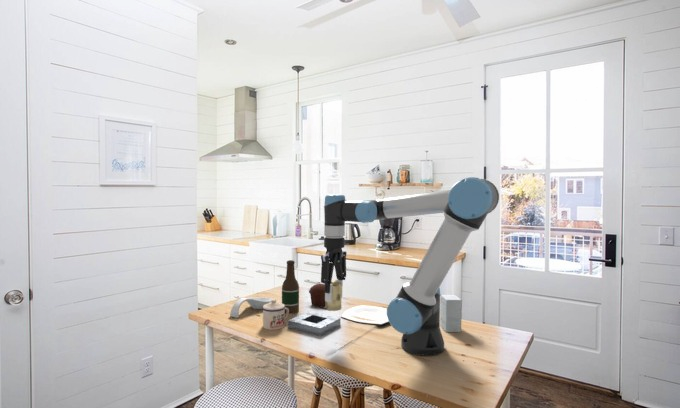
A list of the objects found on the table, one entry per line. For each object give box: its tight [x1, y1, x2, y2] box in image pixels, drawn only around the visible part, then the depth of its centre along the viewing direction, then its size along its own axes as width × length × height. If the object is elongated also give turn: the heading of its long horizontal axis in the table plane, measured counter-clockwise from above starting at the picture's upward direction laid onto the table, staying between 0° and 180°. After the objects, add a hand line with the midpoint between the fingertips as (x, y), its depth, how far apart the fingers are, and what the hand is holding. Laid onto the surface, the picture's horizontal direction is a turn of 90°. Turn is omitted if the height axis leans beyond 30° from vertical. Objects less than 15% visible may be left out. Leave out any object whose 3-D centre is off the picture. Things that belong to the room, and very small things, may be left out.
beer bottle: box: [281, 259, 300, 315], centre depth 173 cm, size 8×8×24 cm
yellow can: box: [325, 280, 343, 312], centre depth 140 cm, size 6×6×10 cm
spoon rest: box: [229, 296, 273, 319], centre depth 177 cm, size 24×12×7 cm, turn 153°
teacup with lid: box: [261, 298, 290, 331], centre depth 155 cm, size 12×9×12 cm
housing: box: [287, 310, 341, 337], centre depth 154 cm, size 16×14×4 cm
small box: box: [440, 294, 463, 333], centre depth 155 cm, size 8×6×13 cm
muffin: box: [308, 283, 326, 308], centre depth 186 cm, size 12×11×10 cm
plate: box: [340, 304, 389, 326], centre depth 168 cm, size 23×23×2 cm
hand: (333, 299), depth 140 cm, fingers closed on yellow can, 6 cm apart
